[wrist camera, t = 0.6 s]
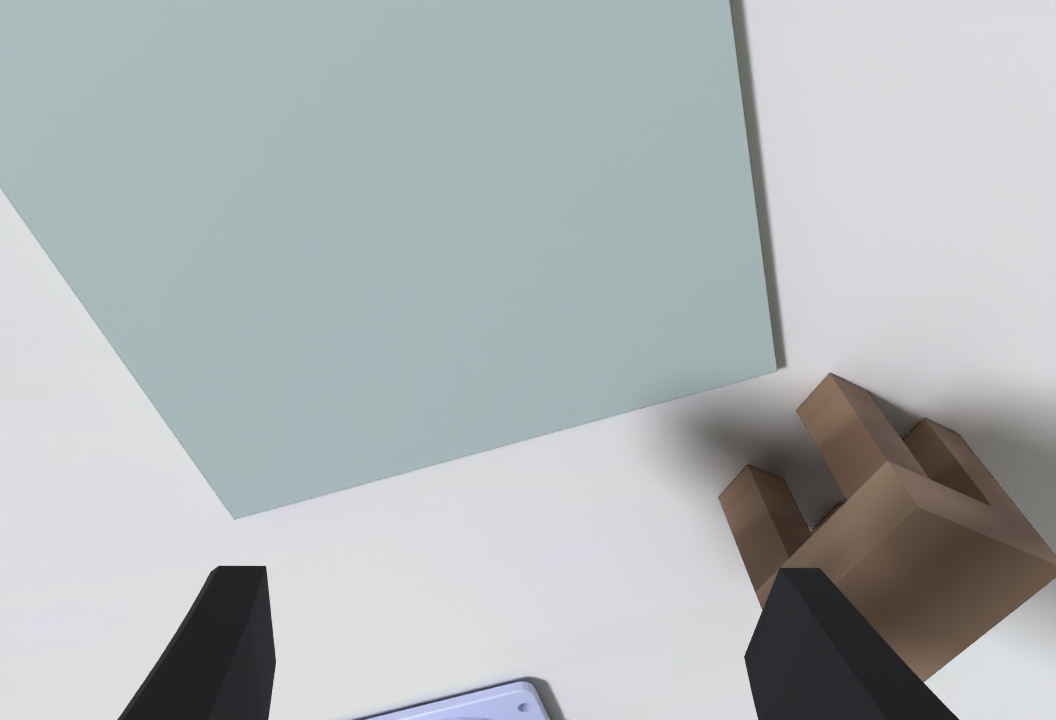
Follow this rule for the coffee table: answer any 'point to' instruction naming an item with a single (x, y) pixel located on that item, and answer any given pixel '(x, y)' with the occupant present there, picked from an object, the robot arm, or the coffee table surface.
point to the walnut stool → (896, 530)
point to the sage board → (389, 218)
